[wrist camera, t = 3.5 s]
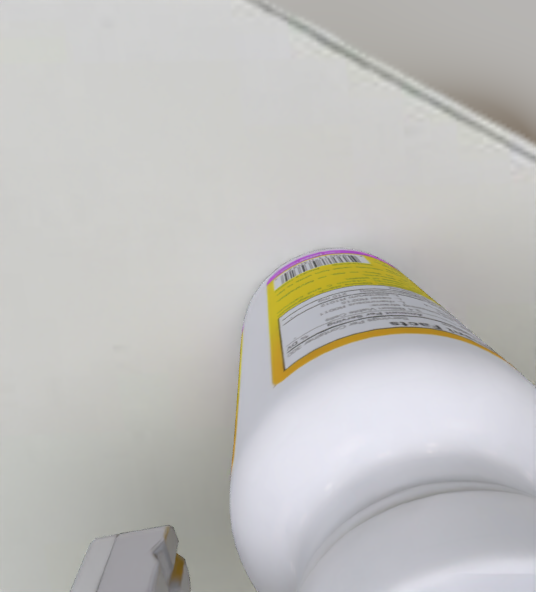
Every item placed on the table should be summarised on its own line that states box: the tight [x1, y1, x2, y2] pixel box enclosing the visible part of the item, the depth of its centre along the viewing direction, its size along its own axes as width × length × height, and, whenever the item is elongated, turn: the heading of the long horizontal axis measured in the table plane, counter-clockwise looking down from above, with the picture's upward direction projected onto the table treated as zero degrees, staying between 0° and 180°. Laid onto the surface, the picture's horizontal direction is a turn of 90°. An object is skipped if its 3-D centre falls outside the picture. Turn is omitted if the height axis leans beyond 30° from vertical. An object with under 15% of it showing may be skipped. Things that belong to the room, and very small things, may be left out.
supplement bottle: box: [230, 248, 536, 592], centre depth 12 cm, size 7×7×13 cm
